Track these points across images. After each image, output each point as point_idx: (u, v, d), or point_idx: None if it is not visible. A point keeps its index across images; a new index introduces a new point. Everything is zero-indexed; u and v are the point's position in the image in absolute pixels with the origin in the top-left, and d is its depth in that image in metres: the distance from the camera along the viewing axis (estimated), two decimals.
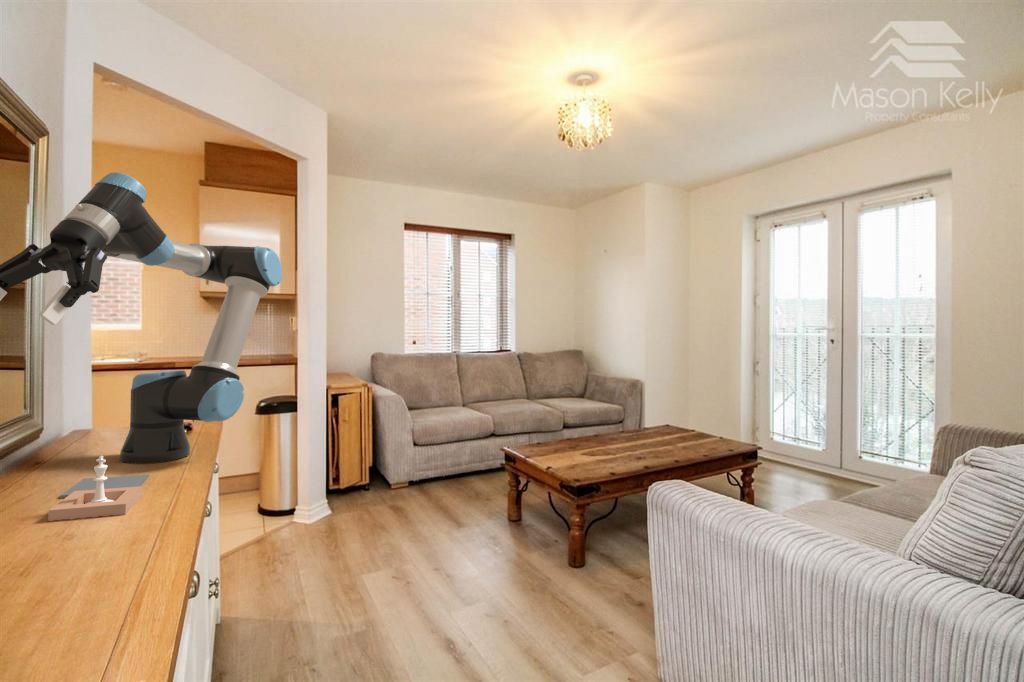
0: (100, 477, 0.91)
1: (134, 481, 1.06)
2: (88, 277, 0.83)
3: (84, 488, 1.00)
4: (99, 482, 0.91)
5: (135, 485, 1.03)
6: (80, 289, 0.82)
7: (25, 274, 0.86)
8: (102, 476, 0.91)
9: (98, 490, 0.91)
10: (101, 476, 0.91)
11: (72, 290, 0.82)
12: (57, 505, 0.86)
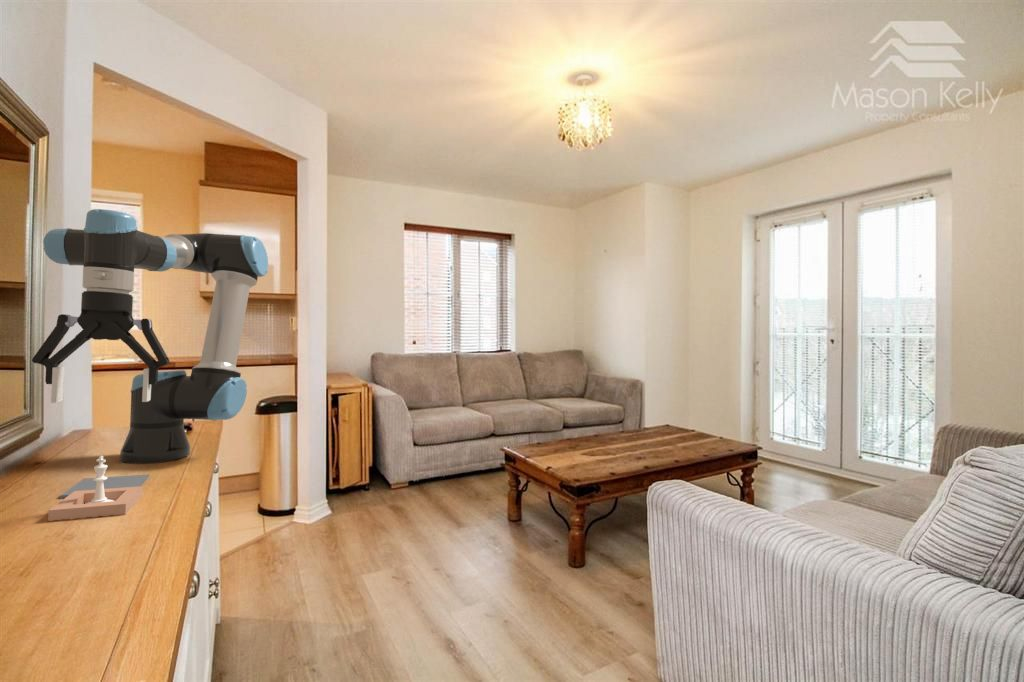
0: (100, 477, 0.91)
1: (134, 481, 1.06)
2: (163, 358, 0.94)
3: (84, 488, 1.00)
4: (99, 482, 0.91)
5: (135, 485, 1.03)
6: (158, 367, 0.95)
7: (75, 348, 0.90)
8: (102, 476, 0.91)
9: (98, 490, 0.91)
10: (101, 476, 0.91)
11: (153, 371, 0.94)
12: (57, 505, 0.86)
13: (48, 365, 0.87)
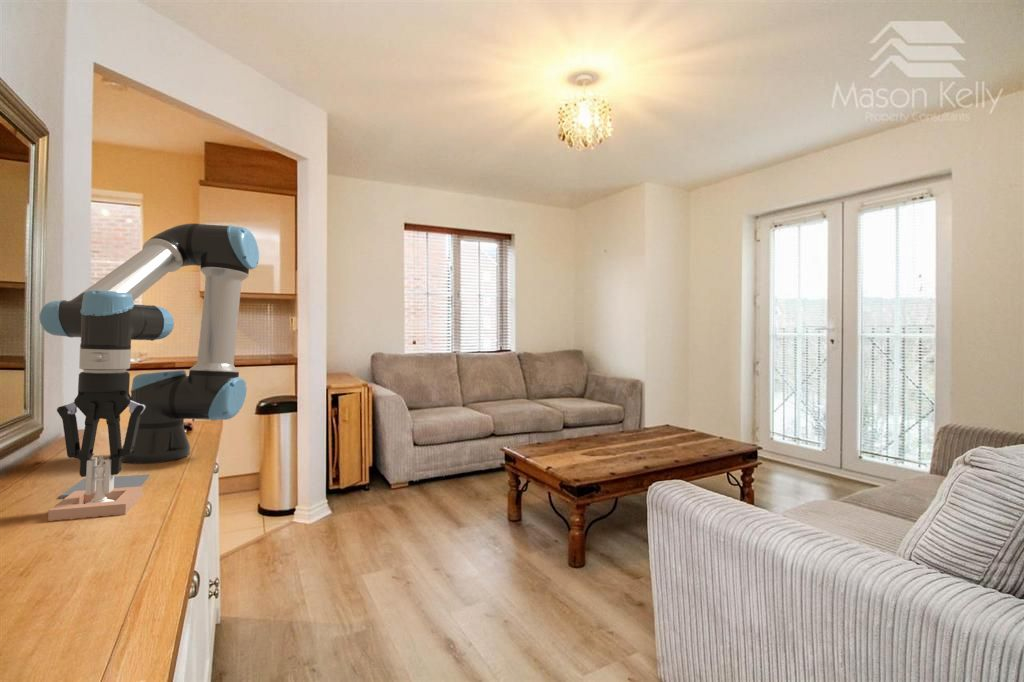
0: (100, 477, 0.91)
1: (134, 481, 1.06)
2: (129, 448, 0.92)
3: (84, 488, 1.00)
4: (99, 482, 0.91)
5: (135, 485, 1.03)
6: (121, 456, 0.93)
7: (94, 433, 0.91)
8: (102, 476, 0.91)
9: (98, 490, 0.91)
10: (101, 476, 0.91)
11: (116, 461, 0.92)
12: (57, 505, 0.86)
13: (84, 459, 0.89)
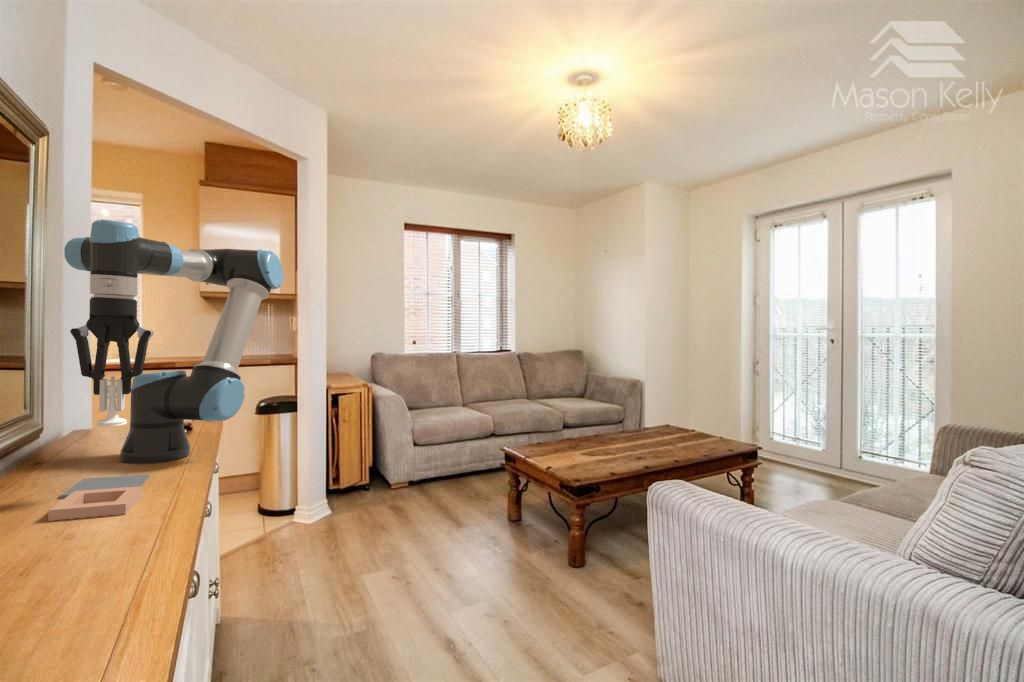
0: (112, 396, 0.98)
1: (134, 481, 1.06)
2: (139, 369, 0.99)
3: (84, 488, 1.00)
4: (111, 400, 0.98)
5: (135, 485, 1.03)
6: (131, 378, 1.00)
7: (105, 355, 0.98)
8: (114, 395, 0.98)
9: (111, 407, 0.98)
10: (113, 395, 0.98)
11: (127, 381, 0.99)
12: (57, 505, 0.86)
13: (97, 378, 0.96)
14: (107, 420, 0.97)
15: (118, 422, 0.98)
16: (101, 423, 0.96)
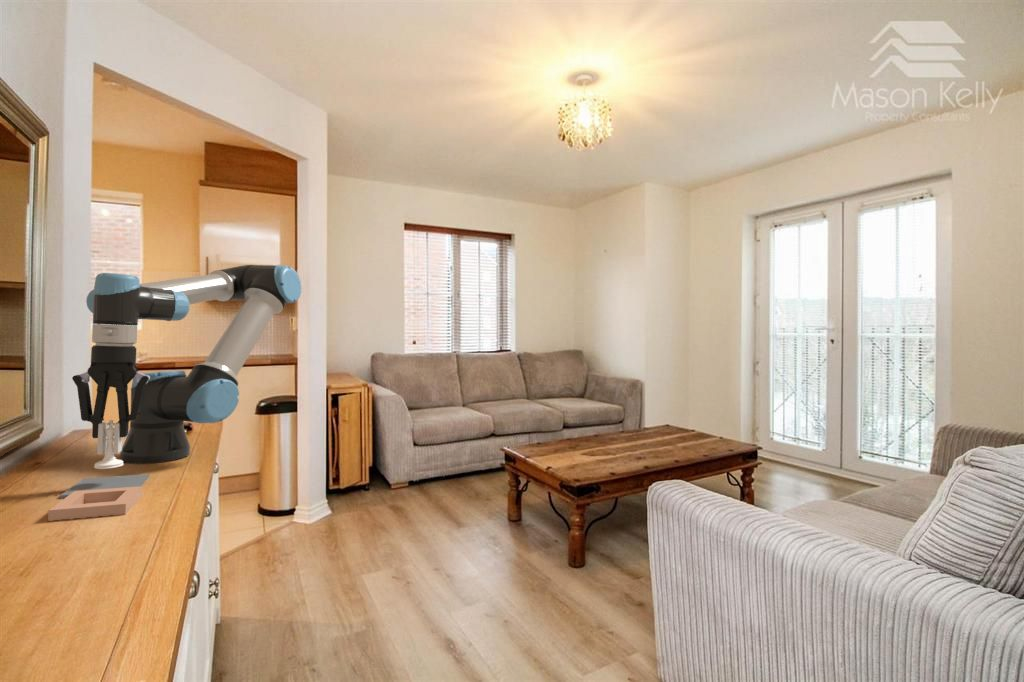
0: (110, 438, 1.03)
1: (134, 481, 1.06)
2: (136, 413, 1.04)
3: (84, 488, 1.00)
4: (109, 443, 1.03)
5: (135, 485, 1.03)
6: (128, 421, 1.04)
7: (105, 400, 1.03)
8: (112, 438, 1.03)
9: (108, 450, 1.03)
10: (110, 438, 1.03)
11: (124, 425, 1.04)
12: (57, 505, 0.86)
13: (96, 422, 1.01)
14: (104, 462, 1.02)
15: (114, 464, 1.02)
16: (98, 465, 1.01)
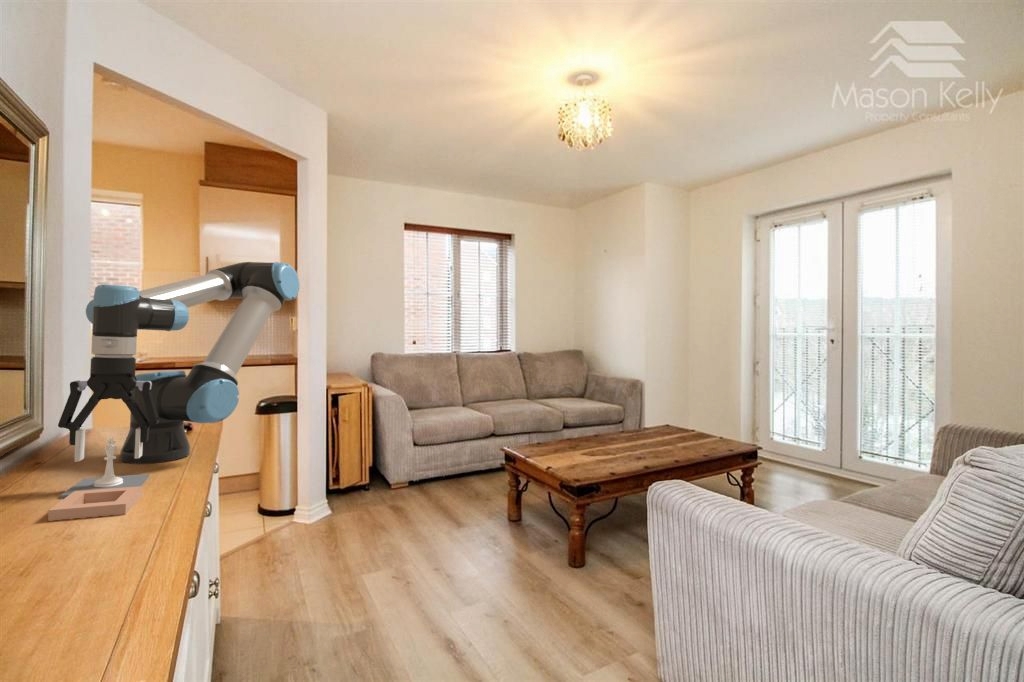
0: (110, 456, 1.03)
1: (134, 481, 1.06)
2: (154, 418, 1.05)
3: (84, 488, 1.00)
4: (109, 461, 1.03)
5: (135, 485, 1.03)
6: (149, 426, 1.06)
7: (91, 410, 1.02)
8: (112, 456, 1.03)
9: (108, 468, 1.03)
10: (110, 456, 1.03)
11: (145, 430, 1.05)
12: (57, 505, 0.86)
13: (72, 429, 0.99)
14: (104, 480, 1.02)
15: (114, 482, 1.02)
16: (98, 483, 1.01)
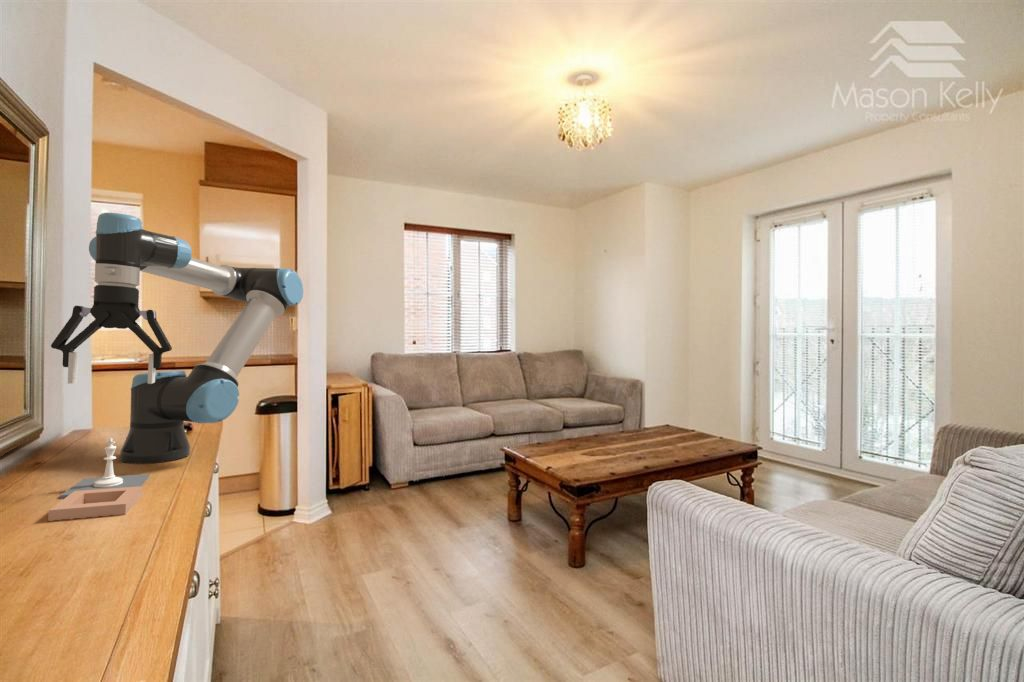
0: (110, 456, 1.03)
1: (134, 481, 1.06)
2: (166, 344, 1.06)
3: (84, 488, 1.00)
4: (109, 461, 1.03)
5: (135, 485, 1.03)
6: (162, 353, 1.07)
7: (88, 336, 1.01)
8: (111, 456, 1.03)
9: (108, 468, 1.03)
10: (110, 456, 1.03)
11: (157, 356, 1.06)
12: (57, 505, 0.86)
13: (65, 350, 0.99)
14: (104, 480, 1.02)
15: (114, 482, 1.02)
16: (98, 483, 1.01)
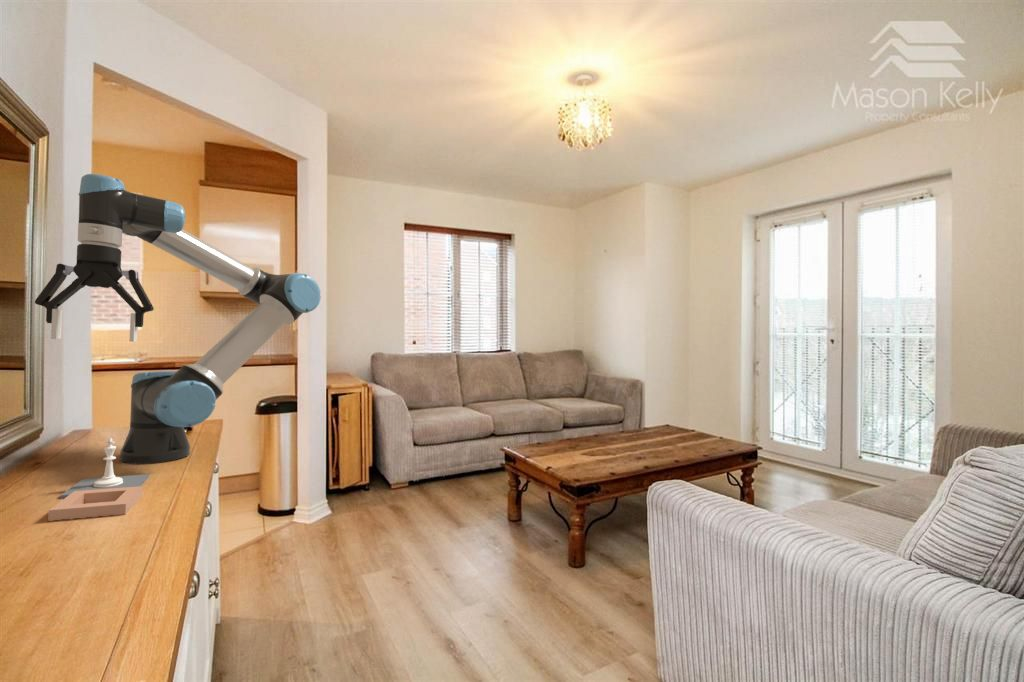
0: (109, 457, 1.03)
1: (134, 481, 1.06)
2: (148, 304, 1.09)
3: (84, 488, 1.00)
4: (109, 461, 1.03)
5: (135, 485, 1.03)
6: (143, 312, 1.10)
7: (72, 294, 1.05)
8: (111, 456, 1.03)
9: (108, 468, 1.03)
10: (110, 456, 1.03)
11: (139, 315, 1.09)
12: (57, 505, 0.86)
13: (48, 306, 1.02)
14: (104, 480, 1.02)
15: (114, 482, 1.02)
16: (98, 483, 1.01)
